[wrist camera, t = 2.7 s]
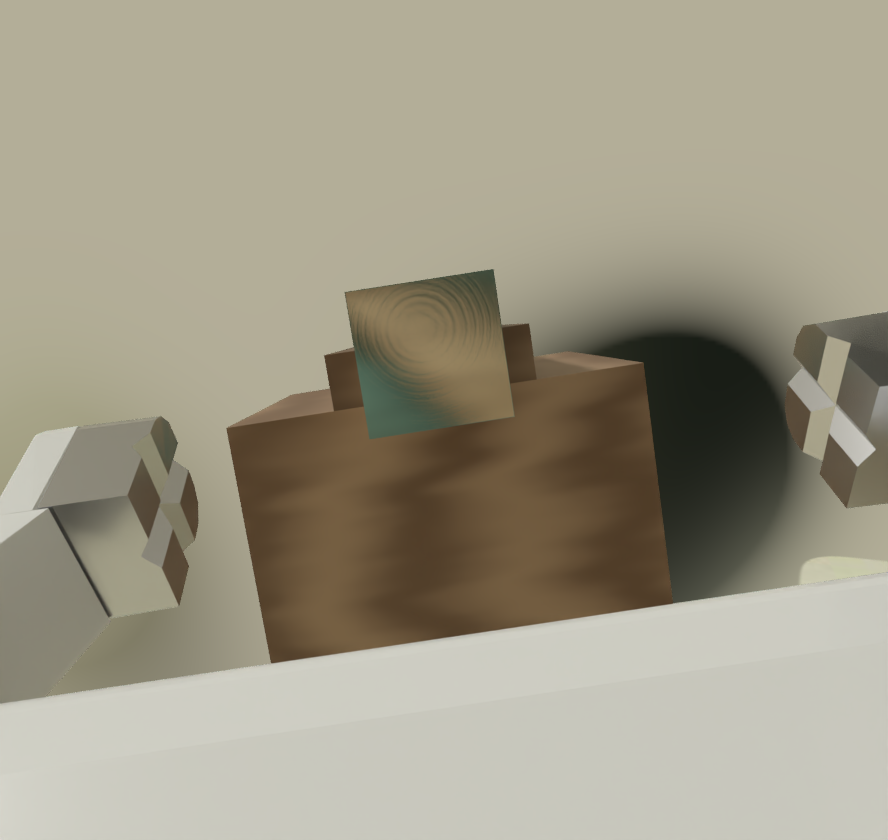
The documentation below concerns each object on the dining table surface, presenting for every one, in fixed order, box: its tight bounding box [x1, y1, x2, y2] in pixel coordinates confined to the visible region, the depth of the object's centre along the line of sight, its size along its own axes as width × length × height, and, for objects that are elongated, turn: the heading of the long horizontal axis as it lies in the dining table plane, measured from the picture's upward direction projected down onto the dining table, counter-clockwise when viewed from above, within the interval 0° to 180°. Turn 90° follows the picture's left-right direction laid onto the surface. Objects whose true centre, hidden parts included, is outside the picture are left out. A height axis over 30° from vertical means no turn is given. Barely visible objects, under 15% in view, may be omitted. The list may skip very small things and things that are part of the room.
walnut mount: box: [227, 324, 673, 664], centre depth 36 cm, size 15×14×28 cm
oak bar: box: [345, 269, 515, 439], centre depth 30 cm, size 24×4×4 cm, turn 2°
